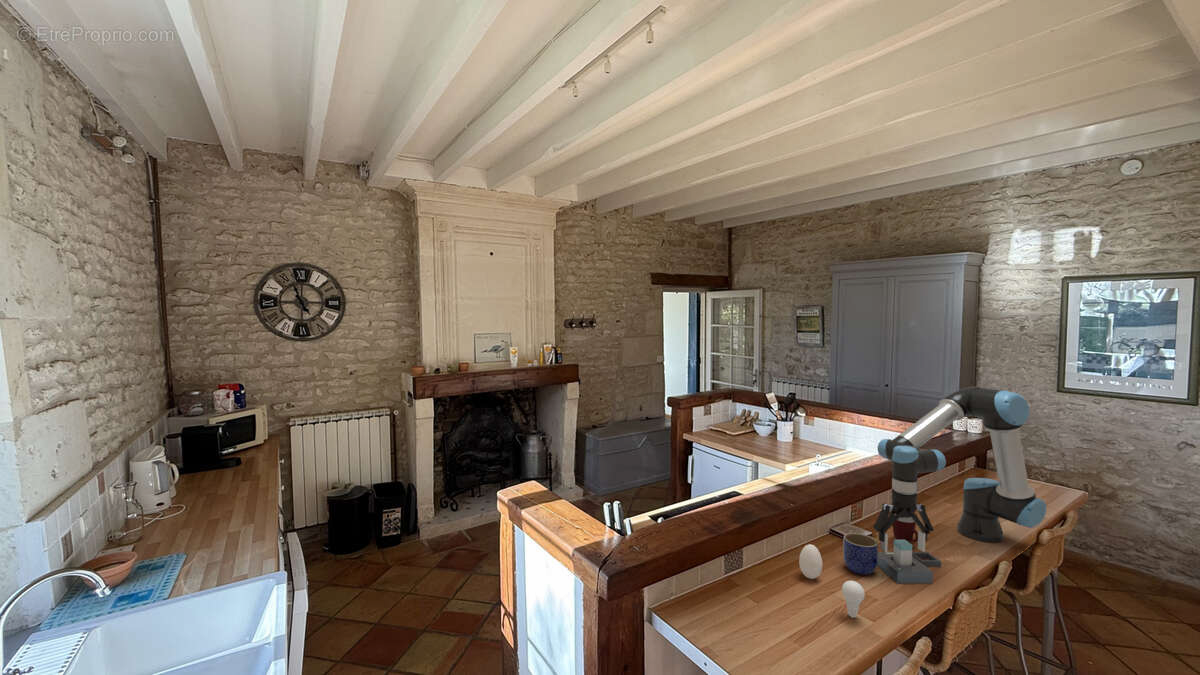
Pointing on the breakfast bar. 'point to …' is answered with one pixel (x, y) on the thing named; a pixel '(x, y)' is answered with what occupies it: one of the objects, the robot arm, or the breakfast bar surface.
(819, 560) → the egg
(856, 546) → the planter
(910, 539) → the mug
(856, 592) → the lightbulb
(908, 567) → the panel
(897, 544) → the plug
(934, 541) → the breakfast bar surface
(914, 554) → the holster
